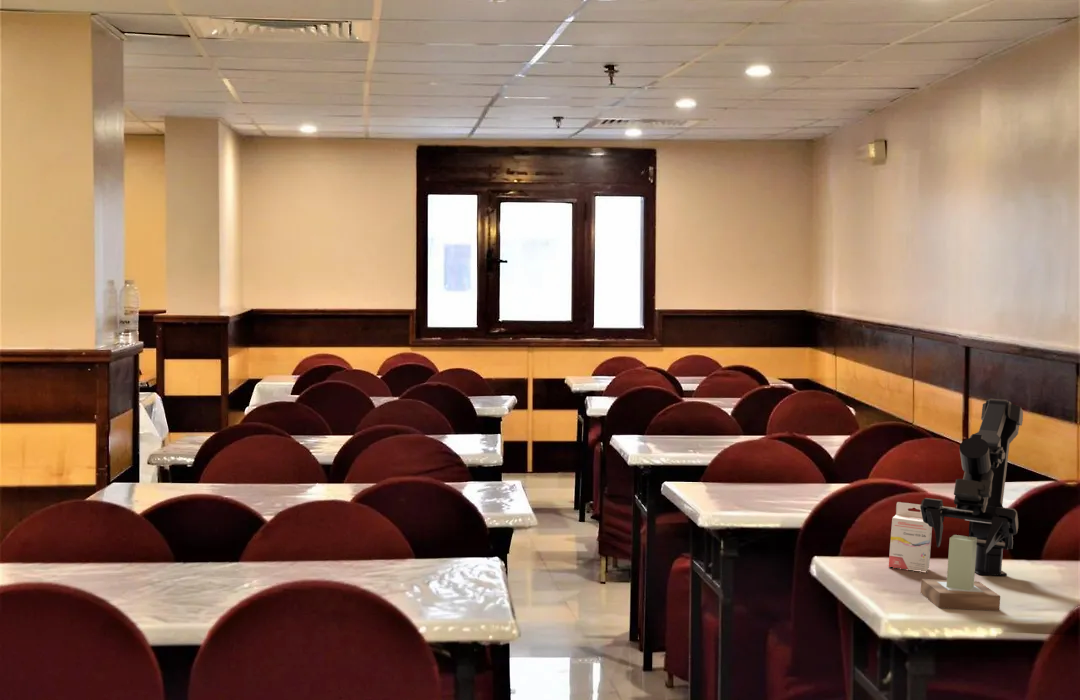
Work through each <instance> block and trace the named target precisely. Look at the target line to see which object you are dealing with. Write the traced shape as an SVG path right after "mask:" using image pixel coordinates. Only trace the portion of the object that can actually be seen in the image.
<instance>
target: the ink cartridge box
mask: <svg viewBox="0 0 1080 700" xmlns="http://www.w3.org/2000/svg"><path fill="white" fill-rule="evenodd" d="M920 506H921V504H918V503H911V502H910V503H909V502H901V501H897V502H896V506H895V515H894V516H892V518H891V519H892V520H891V528H890V529H891V531H890V543H889V557H888V568H889V567H893V568H892V569H894V568H901V569H908V570H921V571H927V570H928V571H929V569H930V562H931V560H930V559H931V546H932V531H933V527H930V526H929V525H928V524H927V523H925V522H923V518H922V513H921V508H920ZM913 508H915V510H919V511H914V510H909V509H913ZM928 568H929V569H928ZM901 569H900V570H901ZM908 570H907V571H908ZM928 571H927V572H928Z"/></svg>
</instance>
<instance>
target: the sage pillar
mask: <svg viewBox="0 0 1080 700" xmlns="http://www.w3.org/2000/svg"><path fill="white" fill-rule="evenodd" d="M948 543H949V544H948V557H947V559H948V560H947V573H946V580H947V586H946V587H951V588H957V589H964V590H970V589H972V588H973V587H974V582H975V575H976V572H975V560H976V545H977V538H974V537H969V536H966V535H959V534H958V535H957V534H953V535H952V536H951V537H949V542H948Z"/></svg>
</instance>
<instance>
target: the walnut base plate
mask: <svg viewBox="0 0 1080 700" xmlns="http://www.w3.org/2000/svg"><path fill="white" fill-rule="evenodd" d="M946 586H947V579H932V578H931V579H930V578H921V582H920V594H921V593H922V594H923V595H922V594H921V595H922V596H923V597H925V598H926V597H927V598H928V600H929V601H930V602H931V603H933V604H934V605H935V606H936V607H937V608H938V609H952V610H953V609H954V610H972V611H973V610H975V611H994V612H999V611H1000V610H1001V609H1000V606H1001V603H1000V602H1001V595H1000V594H998V593H997V592H995V591H993V589H991V588H990V587H988V586H986V585H984V584H983V583H981V582H980V581H974V587H973V588H972V589H970V590H964V589H957V588H951V587H946ZM927 598H926V599H927Z"/></svg>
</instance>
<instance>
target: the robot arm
mask: <svg viewBox="0 0 1080 700" xmlns="http://www.w3.org/2000/svg"><path fill="white" fill-rule="evenodd" d="M980 419H981V423H980V426H979V430H978V431H977V432H975V433H972V434H971V435H970V436H969V437H968V438H966V439H964V440H963V441H962V442H961V443H960V444H959V454H960V456H959V457H960V461H961V468H962V470H963V472H964V473H963V478H956V479H955V482H954V483H955V484H954V490H953V496H954V498H953V502H954V505H956V506H955V507H951V506H944V503H943V499H940V498H939V499H938V498H937V499H936V498H930V497H929V498H928V497H925V498H923V499H922V500H921V503H920V505H921V506H920V508H921V513H922V518H923V522H925V523H927V524H928V525H929V526H930V527H932V529H933V530H934V533H935V534H934V535H935V542H936V543H935V544H936V548H940V546H941V544H942V536H943V532H944V531H943V530H944V524H943V523H944V521H945V518H953V519H958V520H959V519H960V520H964V521H969V524H968V537H974V538H977V545H976V560H975V574H978V575H981V576H983V575H987V576H1004V577H1007V576H1008V573H1007V572H1005V571H1003V570H1002V567H1003V556H1004V555H1003V551H1004V550H1007V551H1008V550H1013V545H1014V540H1013V539H1014V537H1013V536H1015V535H1017V534H1018V531H1019V530H1018V529H1019V518H1018V517H1019V516H1018V511H1017V510H1016V509H1015V508H1012V507H1011V508H1009V507H1004V506H1003V503H1004V502H1003V501H1004V494H1005V486H1006V477H1007V469H1008V468H1007V467H1008V461H1009V460H1008V459H1009V453H1010V444H1011V443H1012V442H1013V441H1014V439H1015V438H1017V436H1018V435H1019V430H1020V427H1021V426H1022V425H1023V421H1024V411H1023V409H1022V406H1019V405H1016V404H1014V403H1012V402H1011V401H1008V399H1000V398H999V399H996V398H990V399H986V401H985V402H984V403H982V408H981V416H980Z"/></svg>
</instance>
